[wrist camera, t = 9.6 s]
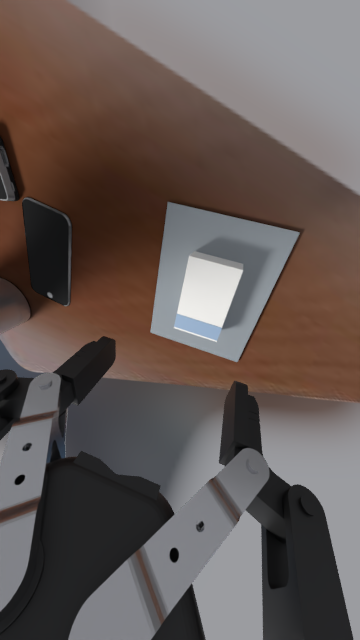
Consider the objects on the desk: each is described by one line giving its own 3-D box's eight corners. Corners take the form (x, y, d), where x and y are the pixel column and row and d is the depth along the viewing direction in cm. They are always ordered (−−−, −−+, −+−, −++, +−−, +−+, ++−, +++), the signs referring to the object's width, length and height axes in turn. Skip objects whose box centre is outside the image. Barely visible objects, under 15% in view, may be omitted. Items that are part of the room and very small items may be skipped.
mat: (151, 331, 31) (150, 332, 31) (169, 202, 21) (167, 201, 21) (237, 360, 29) (237, 362, 29) (299, 232, 19) (300, 232, 19)
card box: (194, 251, 23) (188, 255, 20) (243, 263, 22) (243, 270, 20) (179, 318, 28) (173, 328, 25) (219, 330, 27) (216, 342, 25)
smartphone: (30, 290, 34) (19, 194, 26) (34, 289, 35) (25, 194, 26) (68, 308, 34) (69, 217, 25) (72, 307, 34) (74, 216, 26)
